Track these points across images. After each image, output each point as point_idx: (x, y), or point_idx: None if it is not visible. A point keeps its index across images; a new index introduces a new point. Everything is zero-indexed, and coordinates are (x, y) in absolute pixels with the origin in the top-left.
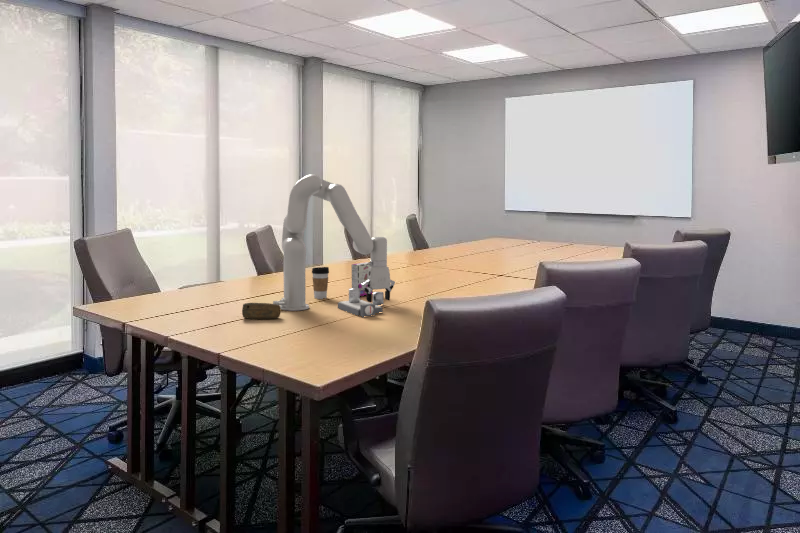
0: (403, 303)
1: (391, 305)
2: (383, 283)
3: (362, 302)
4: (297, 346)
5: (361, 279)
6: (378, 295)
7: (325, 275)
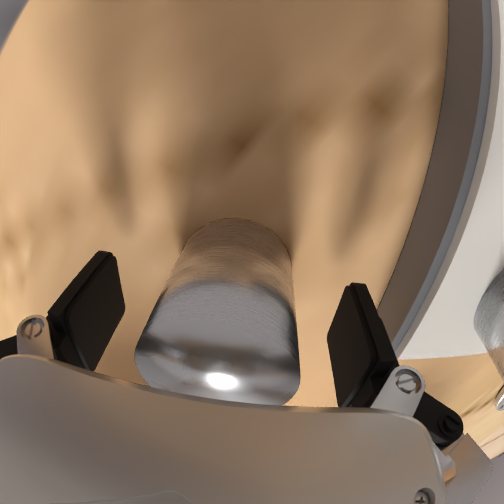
0: (17, 212)
1: (119, 192)
2: (105, 497)
3: (500, 249)
4: None
5: None
6: (263, 311)
7: None
